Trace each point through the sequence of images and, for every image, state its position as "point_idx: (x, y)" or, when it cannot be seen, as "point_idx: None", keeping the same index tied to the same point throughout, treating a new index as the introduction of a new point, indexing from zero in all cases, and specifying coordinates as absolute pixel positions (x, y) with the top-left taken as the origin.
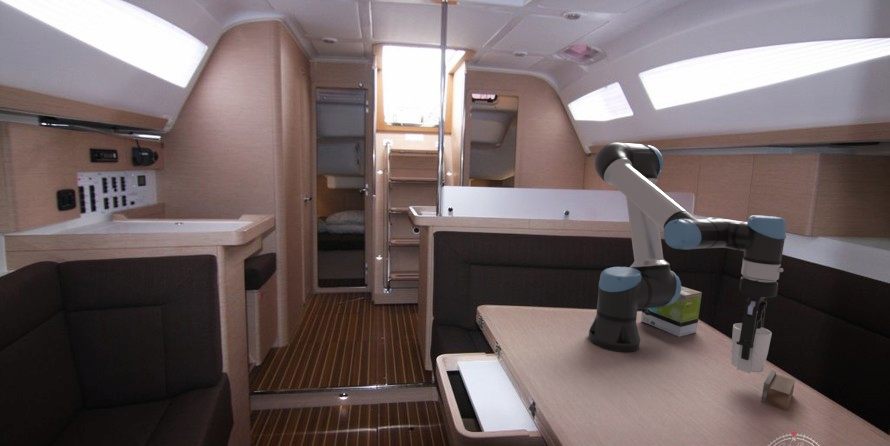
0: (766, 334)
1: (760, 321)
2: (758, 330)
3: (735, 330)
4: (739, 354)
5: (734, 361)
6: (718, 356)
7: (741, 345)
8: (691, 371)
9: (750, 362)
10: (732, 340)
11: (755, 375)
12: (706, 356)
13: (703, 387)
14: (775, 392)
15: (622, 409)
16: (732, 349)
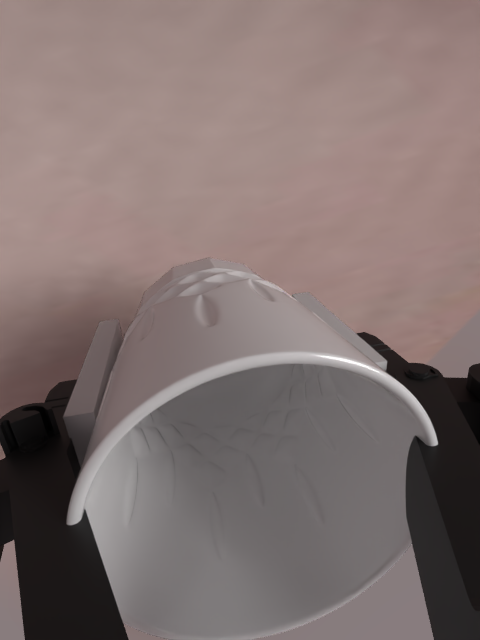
0: (346, 535)
1: (428, 609)
2: (395, 480)
3: (118, 408)
4: (84, 370)
5: (142, 300)
6: (472, 91)
7: (65, 422)
8: (143, 50)
9: None
10: (167, 314)
11: (365, 280)
12: (428, 39)
13: (7, 176)
14: None
15: None
16: (159, 298)
